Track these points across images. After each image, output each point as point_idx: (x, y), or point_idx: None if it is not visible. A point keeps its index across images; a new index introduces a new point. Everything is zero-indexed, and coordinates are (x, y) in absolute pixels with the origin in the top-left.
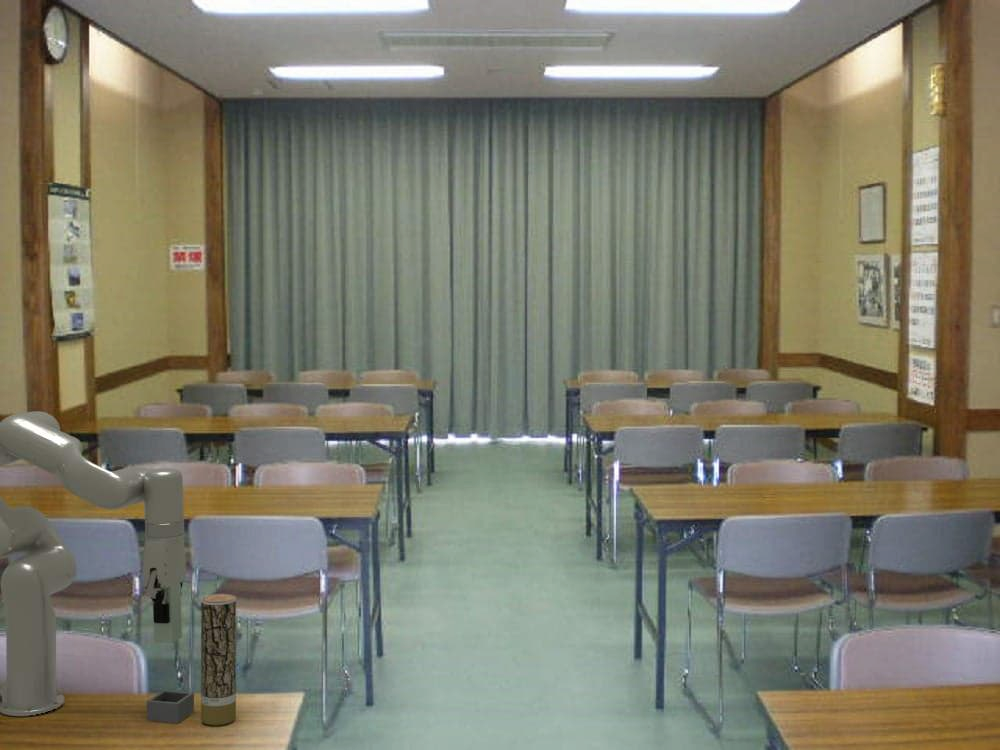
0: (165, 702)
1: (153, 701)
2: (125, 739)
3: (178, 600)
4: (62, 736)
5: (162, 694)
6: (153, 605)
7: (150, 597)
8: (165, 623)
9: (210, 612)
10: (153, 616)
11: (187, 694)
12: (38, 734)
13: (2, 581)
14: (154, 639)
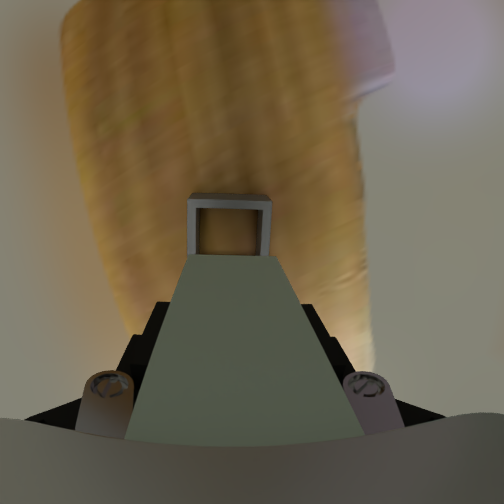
0: (190, 246)
1: (190, 215)
2: (94, 203)
3: None
4: (85, 79)
5: (250, 208)
6: (133, 356)
7: (25, 419)
8: None
9: None
10: (170, 302)
11: None
12: (90, 34)
13: None
14: (187, 259)
